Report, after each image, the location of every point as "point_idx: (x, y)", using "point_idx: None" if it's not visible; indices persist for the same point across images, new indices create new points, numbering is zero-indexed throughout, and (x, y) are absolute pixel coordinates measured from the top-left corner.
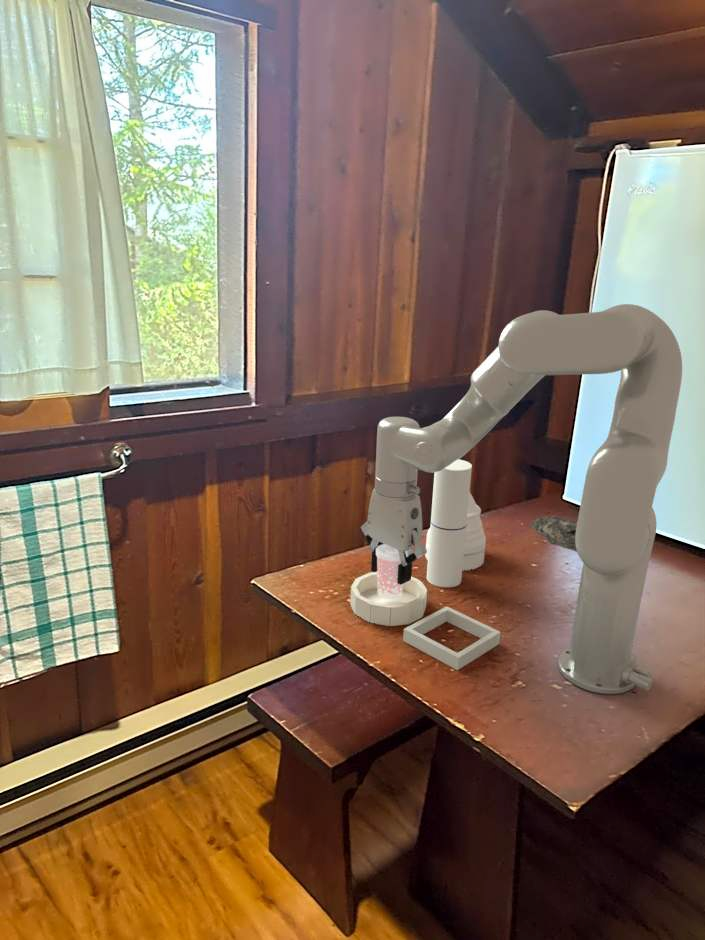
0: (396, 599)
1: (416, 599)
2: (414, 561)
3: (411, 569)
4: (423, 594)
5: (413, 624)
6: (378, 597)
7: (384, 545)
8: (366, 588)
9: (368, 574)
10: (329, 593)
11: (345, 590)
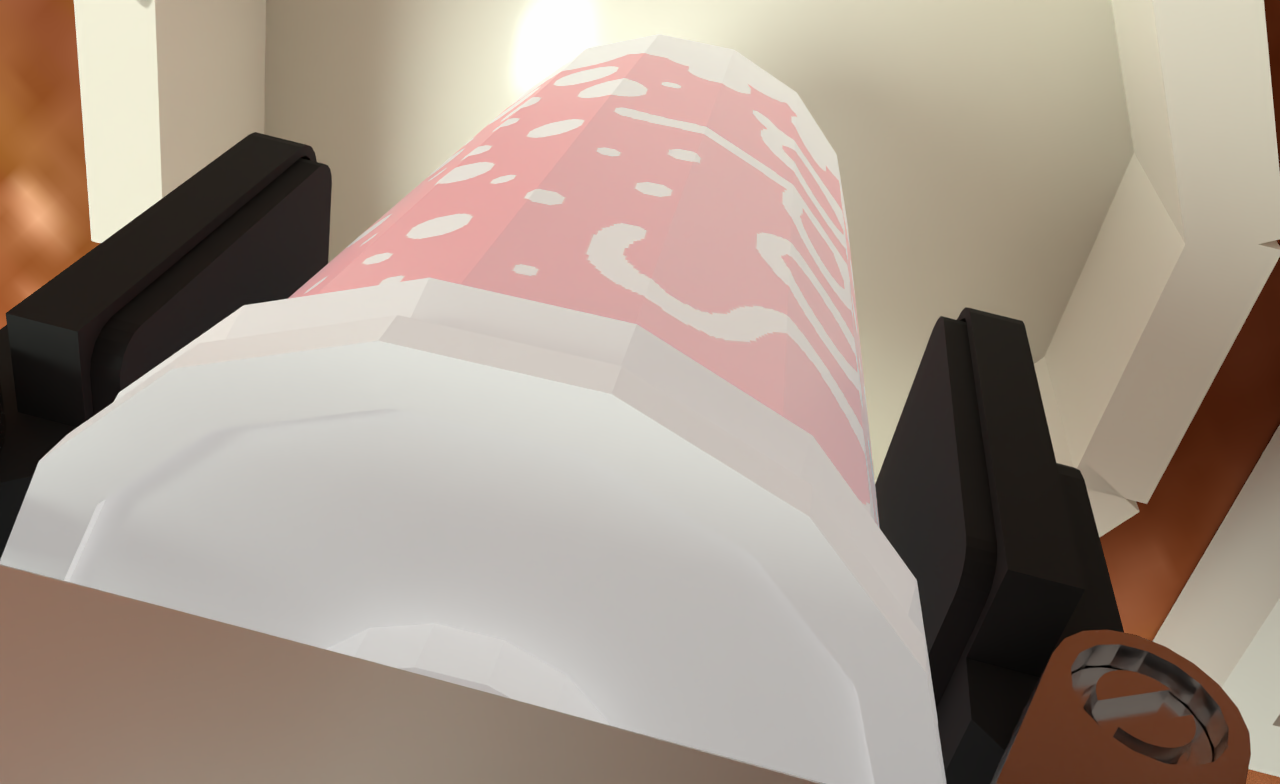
0: (718, 17)
1: (1170, 321)
2: (1205, 700)
3: (1105, 589)
4: (1234, 111)
5: (1260, 647)
6: (493, 113)
7: (69, 577)
8: (248, 57)
9: (109, 23)
10: (2, 256)
11: (52, 94)
